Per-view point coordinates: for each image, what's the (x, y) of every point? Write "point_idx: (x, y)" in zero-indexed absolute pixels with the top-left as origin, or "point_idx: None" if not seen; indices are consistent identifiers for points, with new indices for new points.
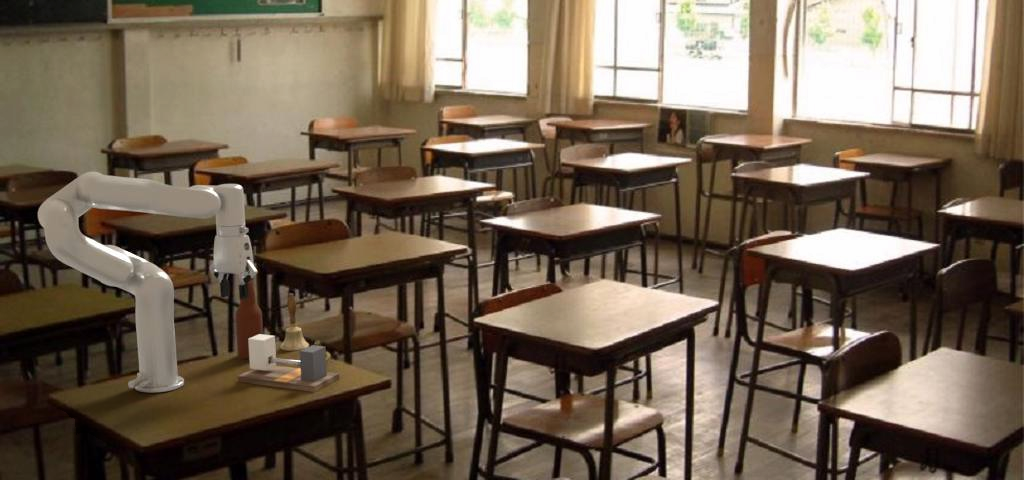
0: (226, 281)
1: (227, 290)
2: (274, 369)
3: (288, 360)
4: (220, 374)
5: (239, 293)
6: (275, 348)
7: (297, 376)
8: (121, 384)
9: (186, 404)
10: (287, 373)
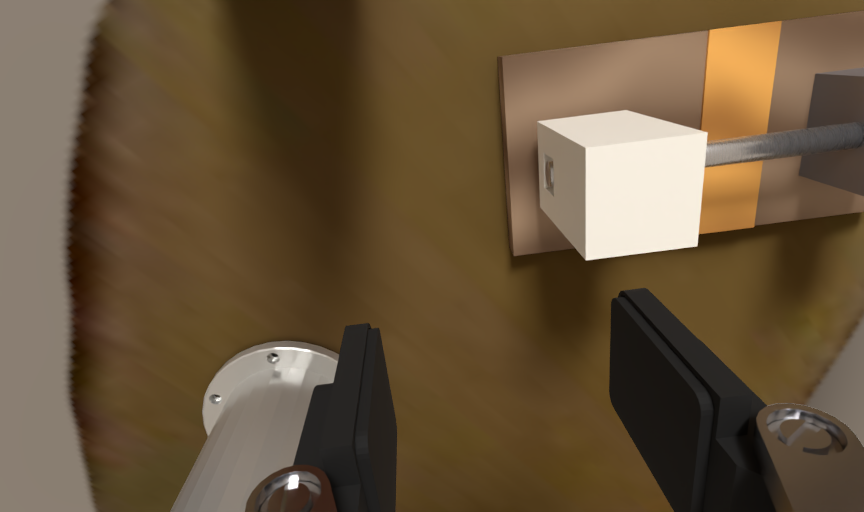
0: (363, 499)
1: (383, 403)
2: (603, 106)
3: (758, 157)
4: (377, 212)
5: (636, 442)
6: (667, 122)
7: None
8: (167, 454)
9: (517, 478)
10: (693, 126)
